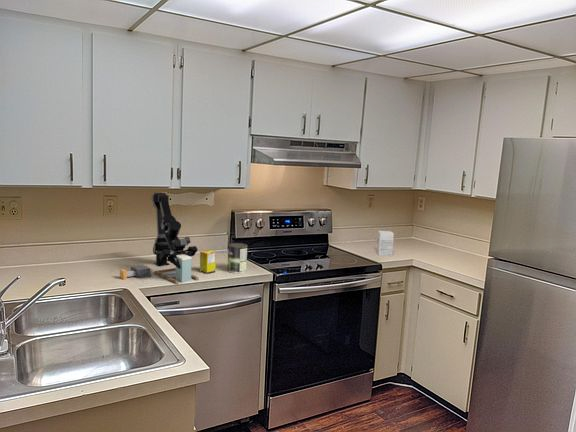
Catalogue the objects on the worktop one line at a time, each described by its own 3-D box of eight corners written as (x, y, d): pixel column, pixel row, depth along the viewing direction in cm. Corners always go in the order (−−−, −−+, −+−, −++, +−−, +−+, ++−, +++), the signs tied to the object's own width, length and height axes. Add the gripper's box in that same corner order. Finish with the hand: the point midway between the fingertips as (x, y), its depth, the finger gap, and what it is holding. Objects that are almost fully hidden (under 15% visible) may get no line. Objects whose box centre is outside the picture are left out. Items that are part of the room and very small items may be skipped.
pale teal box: (175, 279, 227) (175, 255, 225) (184, 277, 231) (184, 254, 229) (181, 282, 223) (182, 258, 221) (191, 280, 226) (191, 257, 225)
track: (153, 273, 236) (153, 271, 236) (175, 270, 244) (175, 267, 244) (176, 284, 220) (176, 281, 220) (198, 279, 228) (198, 277, 228)
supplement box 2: (376, 252, 307) (377, 230, 305) (390, 253, 307) (391, 231, 305) (378, 255, 298) (380, 232, 296) (392, 256, 298) (394, 233, 296)
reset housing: (130, 274, 233) (130, 266, 232) (141, 272, 237) (141, 264, 236) (138, 278, 226) (138, 270, 225) (150, 276, 230) (150, 268, 230)
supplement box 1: (208, 269, 247) (208, 249, 246) (215, 272, 244) (216, 251, 242) (199, 271, 243) (199, 251, 241) (207, 274, 239) (207, 253, 238)
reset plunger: (120, 277, 226) (119, 269, 226) (133, 275, 231) (133, 267, 231) (123, 279, 223) (123, 271, 223) (137, 277, 228) (137, 269, 228)
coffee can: (230, 273, 241) (230, 247, 239) (225, 268, 251) (225, 243, 249) (249, 272, 245) (249, 246, 243) (243, 267, 254) (244, 242, 252)
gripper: (162, 233, 220) (173, 261, 213) (196, 230, 233) (208, 255, 226) (154, 246, 227) (165, 273, 220) (187, 242, 239) (199, 268, 233)
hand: (185, 267), depth 225 cm, fingers closed on pale teal box, 5 cm apart
